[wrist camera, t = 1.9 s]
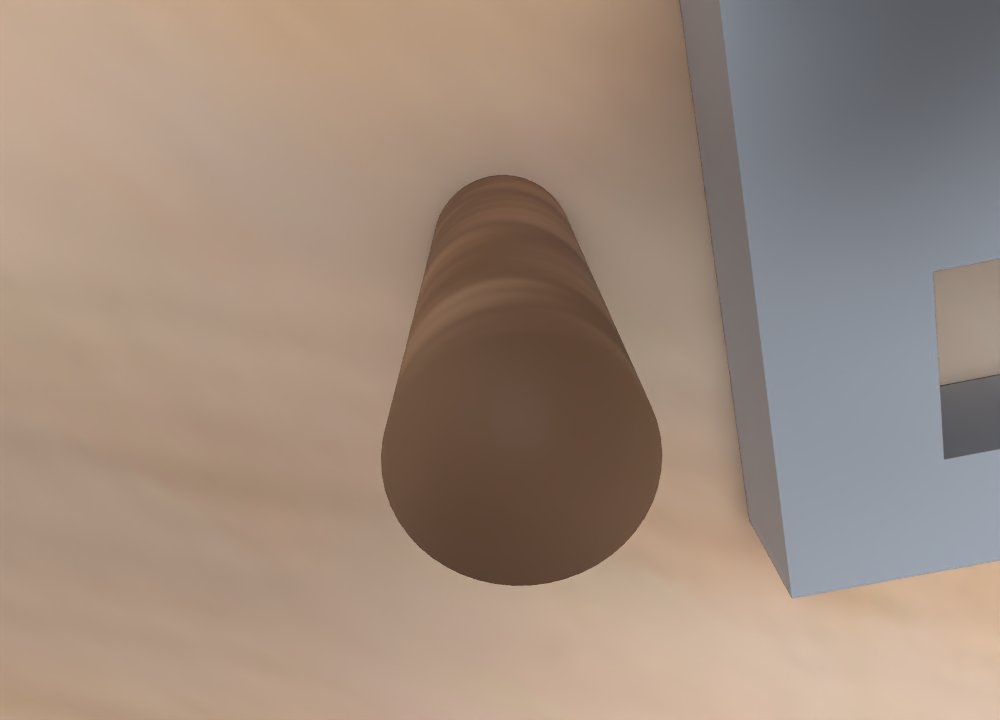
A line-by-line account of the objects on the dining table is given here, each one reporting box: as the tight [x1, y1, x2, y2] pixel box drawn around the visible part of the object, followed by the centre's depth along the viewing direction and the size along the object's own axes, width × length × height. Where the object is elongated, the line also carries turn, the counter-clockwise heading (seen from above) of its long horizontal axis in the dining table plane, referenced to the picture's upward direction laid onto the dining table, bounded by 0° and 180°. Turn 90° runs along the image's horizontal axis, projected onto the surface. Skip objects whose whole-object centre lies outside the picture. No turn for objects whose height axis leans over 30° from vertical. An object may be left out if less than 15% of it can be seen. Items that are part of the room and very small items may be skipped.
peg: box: [381, 175, 662, 586], centre depth 21 cm, size 4×4×15 cm
